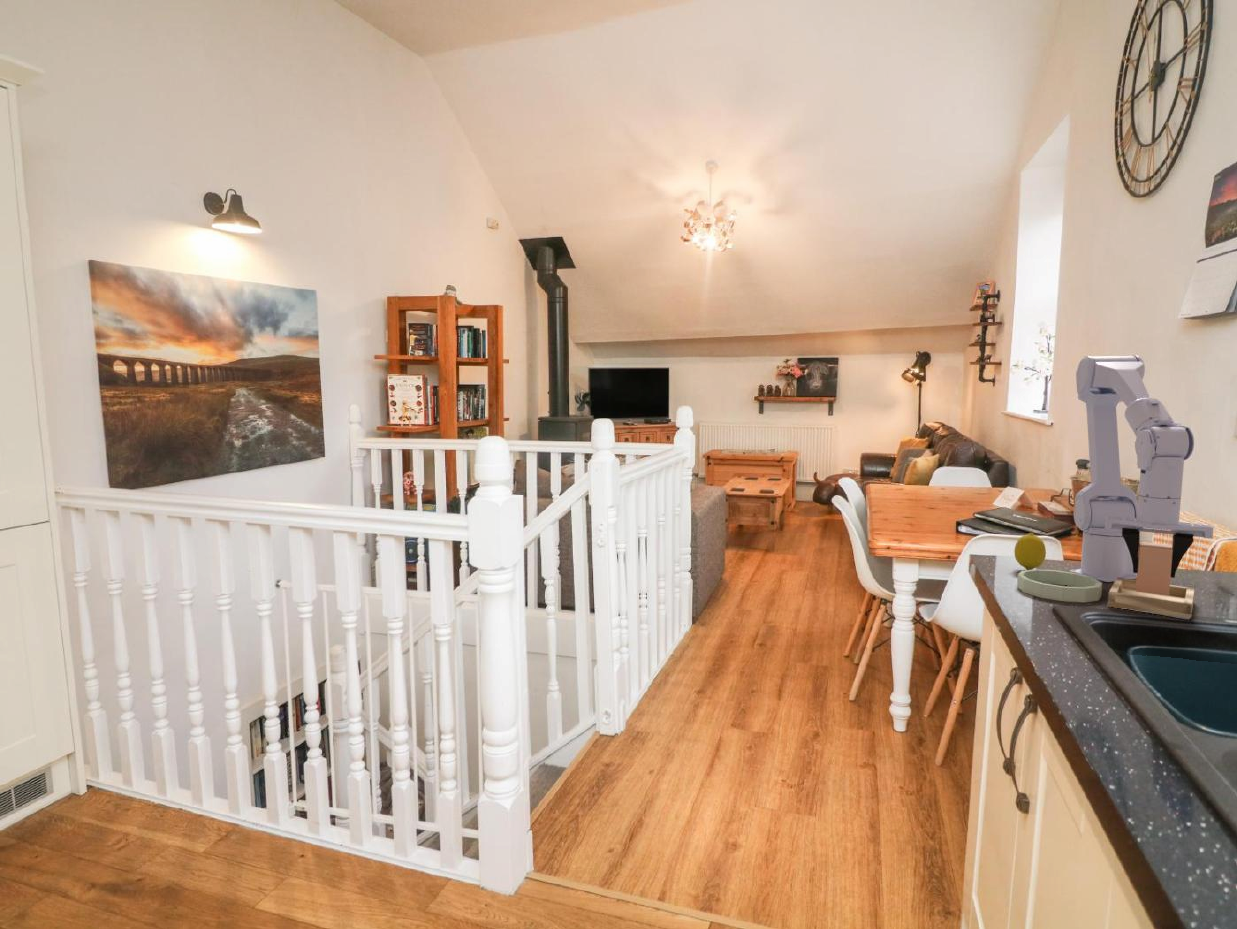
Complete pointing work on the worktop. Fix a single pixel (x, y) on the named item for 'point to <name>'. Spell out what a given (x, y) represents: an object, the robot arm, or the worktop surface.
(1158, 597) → the birch tray
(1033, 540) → the lemon
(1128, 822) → the worktop surface
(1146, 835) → the worktop surface
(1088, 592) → the ceramic ring
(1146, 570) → the pink block
